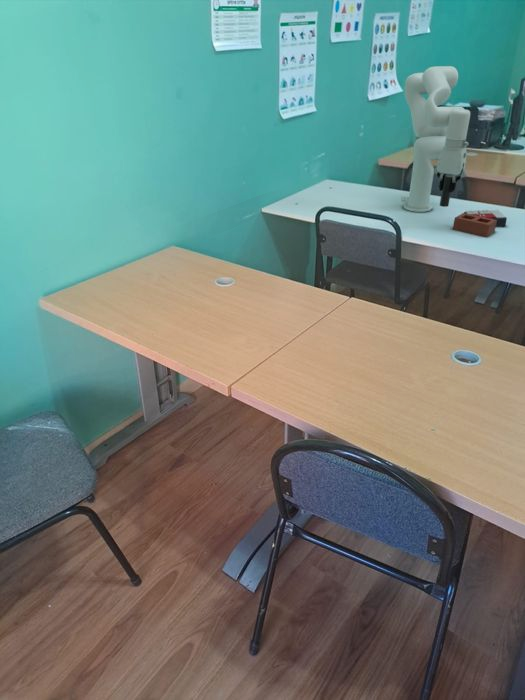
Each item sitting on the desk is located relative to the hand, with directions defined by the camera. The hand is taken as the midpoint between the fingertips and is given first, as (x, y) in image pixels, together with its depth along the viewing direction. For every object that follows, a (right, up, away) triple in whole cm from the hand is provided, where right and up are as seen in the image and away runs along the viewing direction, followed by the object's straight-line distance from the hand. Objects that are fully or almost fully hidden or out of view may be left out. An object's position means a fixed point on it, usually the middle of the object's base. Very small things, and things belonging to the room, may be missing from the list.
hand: (446, 190), depth 212 cm
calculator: (+20, -10, +12) cm, 26 cm away
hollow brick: (+12, -16, +3) cm, 20 cm away
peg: (0, -5, +3) cm, 6 cm away
